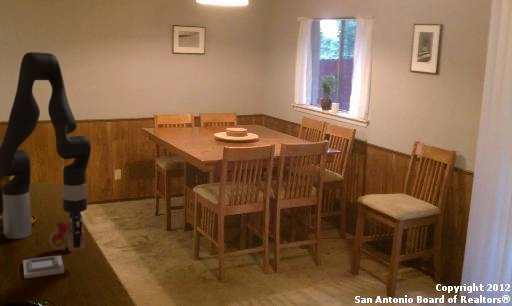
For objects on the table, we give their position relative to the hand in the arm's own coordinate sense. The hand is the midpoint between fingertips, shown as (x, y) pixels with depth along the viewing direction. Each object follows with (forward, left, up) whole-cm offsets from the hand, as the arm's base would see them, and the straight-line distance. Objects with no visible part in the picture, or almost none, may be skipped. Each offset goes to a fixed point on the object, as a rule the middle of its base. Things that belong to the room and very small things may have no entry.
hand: (76, 243), depth 172 cm
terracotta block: (0, 0, -1) cm, 1 cm away
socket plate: (-7, -8, -8) cm, 13 cm away
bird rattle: (-14, +6, -8) cm, 17 cm away
